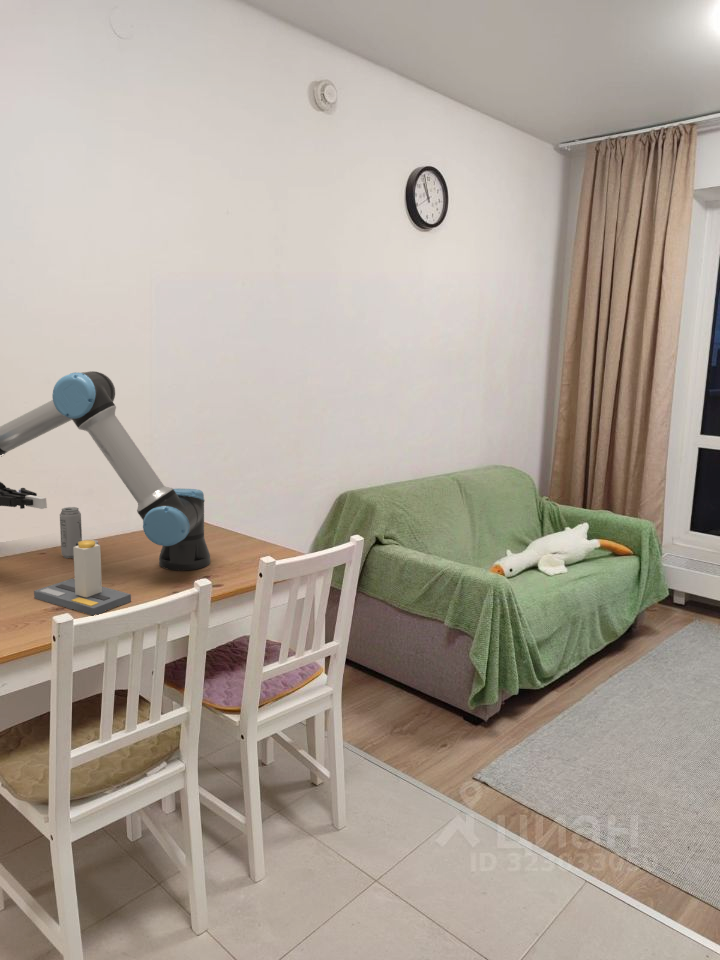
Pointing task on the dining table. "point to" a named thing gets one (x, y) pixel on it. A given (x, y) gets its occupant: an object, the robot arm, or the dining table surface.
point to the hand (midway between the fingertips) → (44, 503)
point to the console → (81, 598)
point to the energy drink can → (70, 530)
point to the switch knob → (87, 568)
